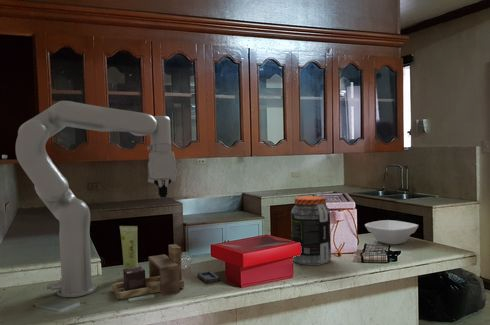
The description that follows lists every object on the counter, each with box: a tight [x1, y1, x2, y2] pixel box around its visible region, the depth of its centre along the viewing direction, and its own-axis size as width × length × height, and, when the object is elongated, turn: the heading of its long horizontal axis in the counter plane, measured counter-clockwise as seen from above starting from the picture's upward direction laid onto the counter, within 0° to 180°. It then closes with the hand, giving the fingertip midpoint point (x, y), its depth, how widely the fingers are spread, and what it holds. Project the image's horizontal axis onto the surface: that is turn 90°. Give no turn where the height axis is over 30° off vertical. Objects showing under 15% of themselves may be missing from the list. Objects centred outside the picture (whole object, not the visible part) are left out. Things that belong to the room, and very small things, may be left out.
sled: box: [111, 243, 185, 300], centre depth 144 cm, size 22×11×13 cm, turn 116°
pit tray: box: [197, 270, 221, 284], centre depth 154 cm, size 5×9×1 cm, turn 26°
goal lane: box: [127, 293, 155, 303], centre depth 142 cm, size 8×18×1 cm, turn 26°
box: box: [122, 265, 146, 291], centre depth 143 cm, size 6×6×7 cm
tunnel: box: [148, 254, 181, 296], centre depth 146 cm, size 6×16×9 cm, turn 26°
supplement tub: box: [290, 195, 332, 266], centre depth 172 cm, size 16×16×26 cm
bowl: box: [364, 219, 419, 245], centre depth 199 cm, size 21×21×9 cm
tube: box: [119, 225, 139, 269], centre depth 157 cm, size 6×5×20 cm
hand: (163, 197), depth 161 cm, fingers closed
